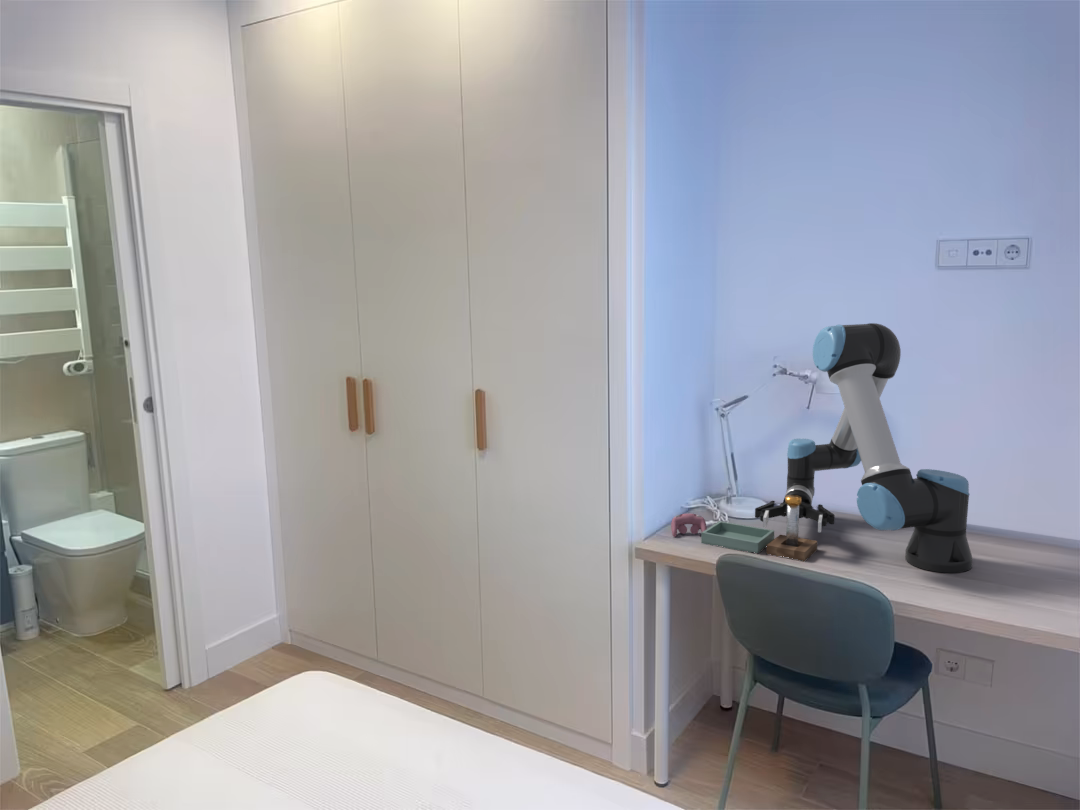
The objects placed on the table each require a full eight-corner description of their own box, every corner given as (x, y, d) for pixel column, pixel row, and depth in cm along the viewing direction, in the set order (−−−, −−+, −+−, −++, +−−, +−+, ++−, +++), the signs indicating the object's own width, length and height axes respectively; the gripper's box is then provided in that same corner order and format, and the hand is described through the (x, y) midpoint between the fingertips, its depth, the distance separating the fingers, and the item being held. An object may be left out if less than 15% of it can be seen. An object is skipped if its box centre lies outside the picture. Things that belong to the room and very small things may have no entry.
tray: (774, 540, 225) (774, 530, 224) (757, 554, 215) (757, 543, 215) (719, 531, 234) (719, 520, 234) (701, 543, 225) (701, 532, 224)
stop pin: (801, 551, 217) (803, 496, 214) (796, 555, 213) (798, 500, 211) (787, 548, 219) (788, 494, 216) (781, 553, 216) (783, 497, 213)
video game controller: (706, 539, 233) (705, 514, 235) (707, 536, 228) (706, 511, 231) (670, 539, 234) (670, 514, 236) (671, 536, 229) (671, 511, 231)
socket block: (817, 550, 217) (817, 541, 217) (804, 561, 209) (804, 552, 209) (780, 543, 223) (780, 534, 223) (766, 554, 215) (766, 545, 215)
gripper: (844, 518, 227) (842, 543, 208) (751, 511, 236) (742, 534, 217) (845, 492, 226) (843, 514, 207) (752, 485, 235) (742, 506, 216)
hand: (791, 524), depth 212 cm, fingers open, 13 cm apart
